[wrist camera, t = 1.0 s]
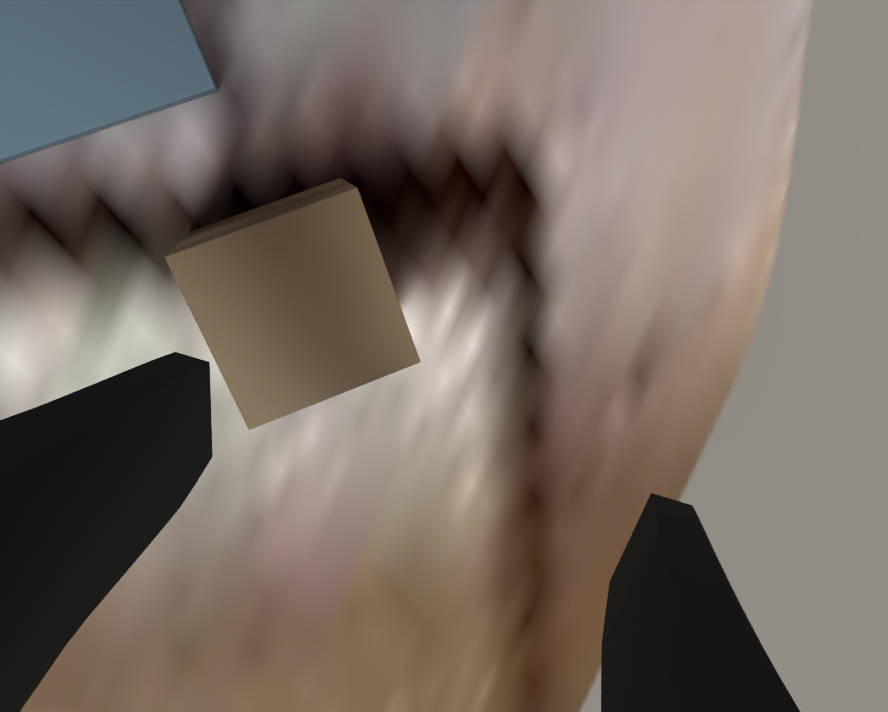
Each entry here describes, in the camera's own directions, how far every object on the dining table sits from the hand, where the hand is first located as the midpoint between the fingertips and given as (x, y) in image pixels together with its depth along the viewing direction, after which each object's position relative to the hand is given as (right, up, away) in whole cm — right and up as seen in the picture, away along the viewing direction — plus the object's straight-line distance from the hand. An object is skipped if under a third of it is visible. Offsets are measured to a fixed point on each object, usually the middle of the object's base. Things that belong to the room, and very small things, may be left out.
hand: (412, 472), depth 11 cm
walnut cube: (-4, +4, +11) cm, 13 cm away
